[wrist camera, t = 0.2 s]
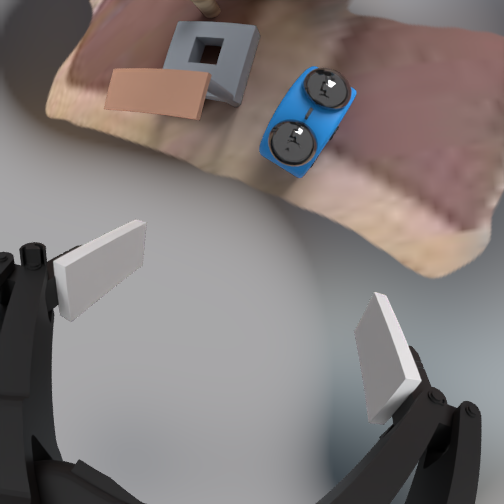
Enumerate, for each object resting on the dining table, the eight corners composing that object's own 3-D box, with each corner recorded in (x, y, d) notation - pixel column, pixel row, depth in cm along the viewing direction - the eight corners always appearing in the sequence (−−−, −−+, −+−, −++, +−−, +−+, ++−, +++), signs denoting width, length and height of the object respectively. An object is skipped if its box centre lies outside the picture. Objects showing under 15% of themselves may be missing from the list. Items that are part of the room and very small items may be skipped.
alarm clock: (312, 80, 34) (315, 43, 20) (349, 103, 34) (373, 77, 20) (266, 153, 39) (244, 153, 25) (302, 176, 39) (301, 188, 25)
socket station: (188, 30, 33) (142, -8, 19) (260, 35, 32) (237, -13, 18) (163, 117, 39) (103, 109, 25) (233, 130, 38) (195, 119, 24)
